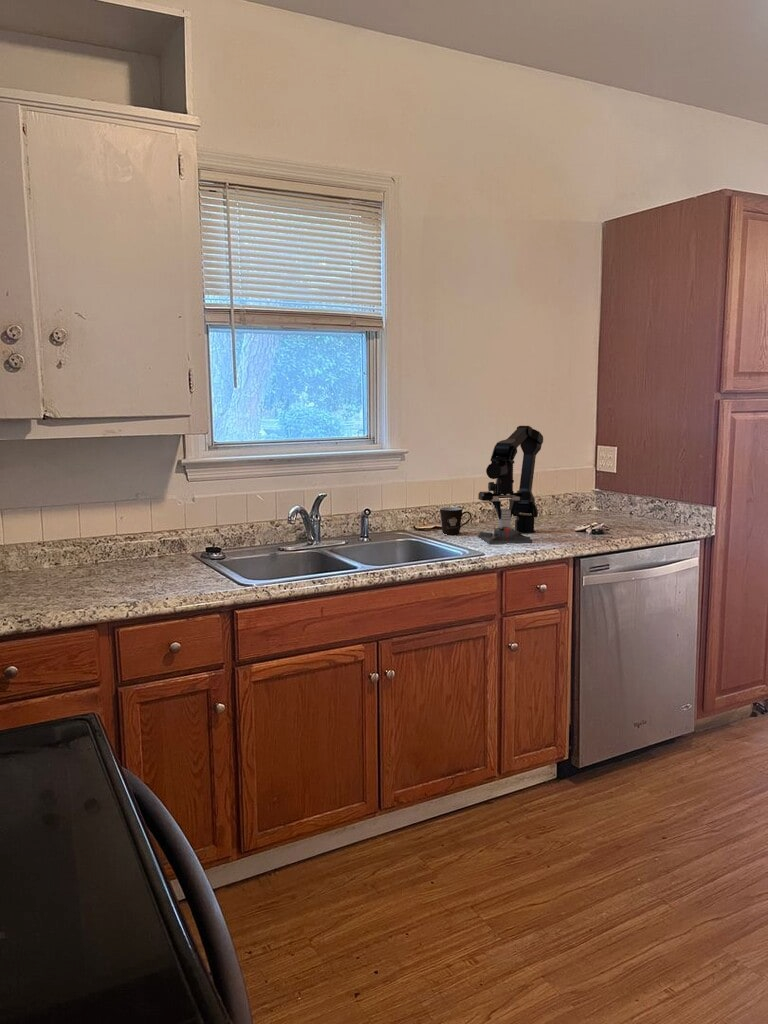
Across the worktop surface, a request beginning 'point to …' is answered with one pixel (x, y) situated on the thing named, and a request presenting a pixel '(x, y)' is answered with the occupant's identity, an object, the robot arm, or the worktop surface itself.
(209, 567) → the worktop surface
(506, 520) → the column
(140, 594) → the worktop surface
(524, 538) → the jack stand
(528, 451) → the robot arm
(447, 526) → the coffee mug
